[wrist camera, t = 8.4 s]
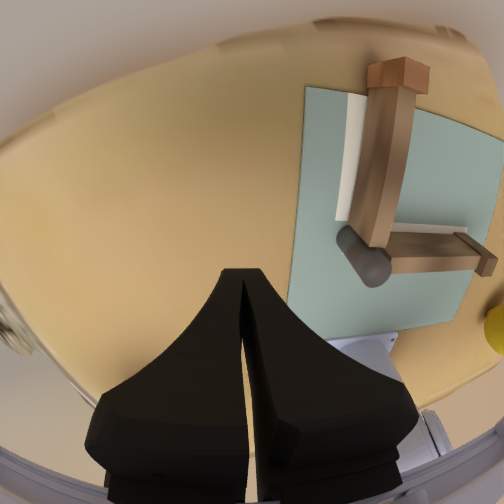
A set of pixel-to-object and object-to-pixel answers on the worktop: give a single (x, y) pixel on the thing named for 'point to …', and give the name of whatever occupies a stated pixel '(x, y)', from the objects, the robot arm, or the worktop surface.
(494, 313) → the lemon
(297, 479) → the robot arm
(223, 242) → the worktop surface
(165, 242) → the worktop surface
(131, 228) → the worktop surface
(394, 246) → the fixed fence section
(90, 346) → the worktop surface
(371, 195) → the hinged fence panel
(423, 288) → the card
